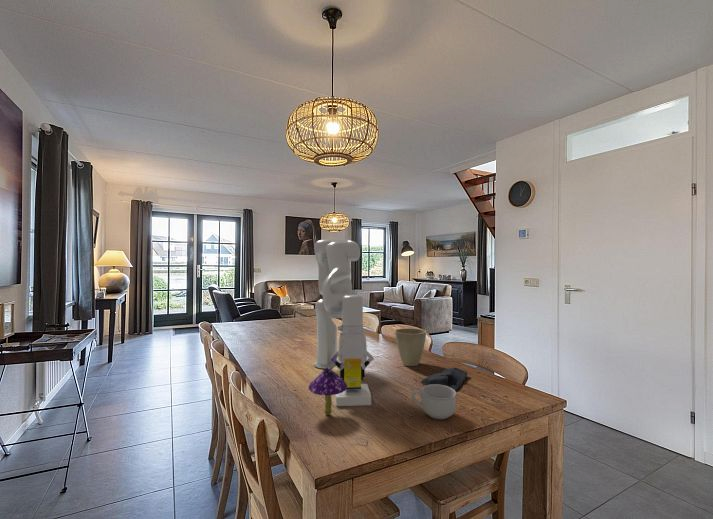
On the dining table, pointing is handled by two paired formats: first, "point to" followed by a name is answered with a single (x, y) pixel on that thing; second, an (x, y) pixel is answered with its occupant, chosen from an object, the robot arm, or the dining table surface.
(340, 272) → the robot arm
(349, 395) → the blank white picture frame
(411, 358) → the plant pot
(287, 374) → the dining table surface
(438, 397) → the teacup
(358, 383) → the supplement box
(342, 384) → the decorative mushroom
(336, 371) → the onion
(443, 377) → the dark slate chunk
